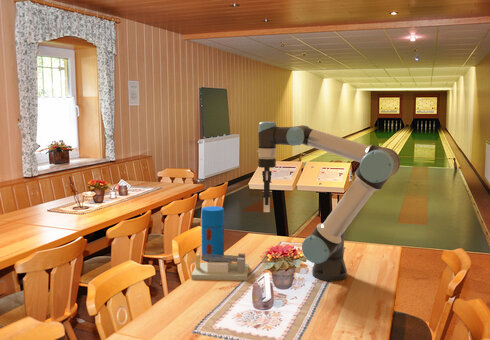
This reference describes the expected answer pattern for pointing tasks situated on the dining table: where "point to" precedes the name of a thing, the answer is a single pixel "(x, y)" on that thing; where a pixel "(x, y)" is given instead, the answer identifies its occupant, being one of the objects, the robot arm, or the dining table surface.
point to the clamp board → (220, 275)
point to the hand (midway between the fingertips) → (266, 211)
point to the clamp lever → (220, 257)
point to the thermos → (212, 230)
